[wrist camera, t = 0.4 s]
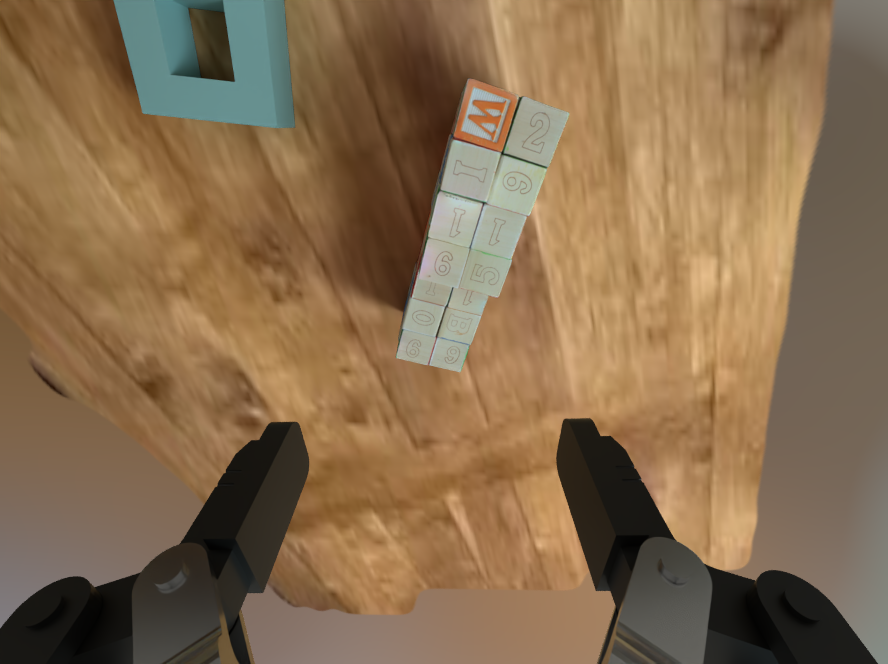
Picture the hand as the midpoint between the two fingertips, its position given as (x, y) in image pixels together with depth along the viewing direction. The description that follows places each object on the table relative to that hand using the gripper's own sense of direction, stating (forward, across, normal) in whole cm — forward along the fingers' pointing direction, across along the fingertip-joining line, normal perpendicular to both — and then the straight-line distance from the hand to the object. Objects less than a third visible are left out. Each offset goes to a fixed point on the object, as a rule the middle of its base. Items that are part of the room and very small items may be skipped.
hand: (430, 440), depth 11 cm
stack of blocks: (+29, -2, +1) cm, 29 cm away
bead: (+28, +17, -14) cm, 36 cm away
